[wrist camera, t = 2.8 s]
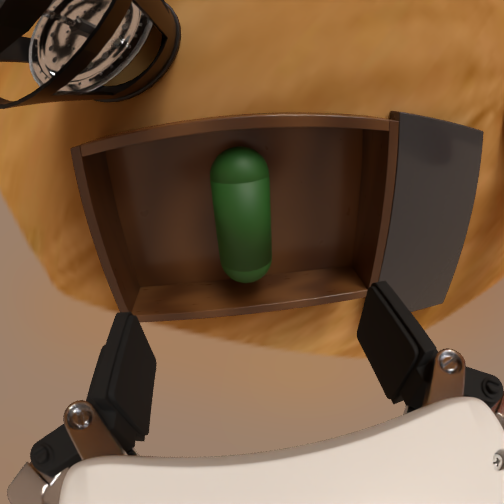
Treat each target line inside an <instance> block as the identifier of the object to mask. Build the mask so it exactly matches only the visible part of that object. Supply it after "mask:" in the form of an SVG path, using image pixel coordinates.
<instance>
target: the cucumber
mask: <svg viewBox="0 0 504 504" xmlns="http://www.w3.org/2000/svg"><path fill="white" fill-rule="evenodd" d="M210 183H211V192H212V201H213V209H214V217H215V225H216V233H217V241H218V248H219V255H220V262H221V266H222V268H223V270H224V272H225V273H226V274H227V275H228V276H229V277H230V278H231V279H233V280H235V281H237V282H241V283H251V282H255V281H257V280H259V279H261V278H262V277H263V276H264V275H265V274H266V273H267V271H268V270H269V268H270V266H271V262H272V235H271V204H270V178H269V169H268V166H267V163H266V161H265V160H264V158H263V157H262V156H261V155H260V154H259V153H258V152H256V151H255V150H253V149H250V148H248V147H242V146H238V147H232V148H229V149H226V150H225V151H223V152H222V153H220V154H219V155H218V156H217V157H216V159H215V160H214V162H213V164H212V166H211V170H210Z"/></svg>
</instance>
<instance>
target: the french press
mask: <svg viewBox="0 0 504 504" xmlns="http://www.w3.org/2000/svg"><path fill="white" fill-rule="evenodd" d="M40 16H41V17H40ZM39 18H40V19H39ZM38 19H39V21H38V23H37V25H36V27H35V29H34V32H33V35H32V37H31V38H27V37H21V36H22V35H24V34H25V33H26V32H28V31H29V30H30V28H31V27H32V26H33V25H34V23H35V22H36V21H37V20H38ZM153 25H154V26H155V27H156V28H157V29H158V30H159V31H160V32H161V33H162V42H161V46H160V49H159V52H158V54H157V56H156V57H155V59H154V61H153V62H152V63H151V64H150V65H149V67H148V68H147V69H146V70H145V71H144V72H142V73H141V74H140V75H139V76H137V77H136V78H134V79H133V80H131V81H128V82H126V83H124V84H120V85H117V86H102V85H103V84H105V83H107V82H108V81H109V80H111V79H112V78H113V77H115V76H116V75H117V74H119V73H120V72H121V71H122V70H123V69H124V68H125V67H126V66H127V65H128V64H129V63H130V62H131V61H132V60H133V58H134V57H135V56H136V55H137V53H138V52H139V51H140V49H141V48H142V46H143V45H144V43H145V42H146V40H147V38H148V36H149V34H150V32H151V29H152V26H153ZM180 40H181V27H180V23H179V20H178V17H177V15H176V14H175V12H174V11H173V9H172V8H171V7H170V6H169V5H168V4H167V3H166V2H165V1H164V0H0V62H24V63H29V65H30V70H31V73H32V75H33V77H34V80H35V81H36V82H37V83H38V85H39V86H40V87H39V88H38V89H36V90H35V91H34V92H32V93H31V94H29V95H27V96H25V97H23V98H21V99H19V100H18V101H8V100H5V99H3V98H1V97H0V109H5V108H11V107H17V106H24V105H31V104H39V103H48V102H59V101H74V100H95V101H100V102H119V101H123V100H127V99H130V98H132V97H135V96H137V95H139V94H141V93H143V92H144V91H146V90H147V89H149V88H150V87H152V86H153V85H154V84H155V83H156V82H157V81H159V80H160V79H161V78H162V76H163V75H164V74H165V73H166V72H167V71H168V69H169V68H170V66H171V64H172V63H173V61H174V59H175V57H176V55H177V52H178V49H179V46H180Z"/></svg>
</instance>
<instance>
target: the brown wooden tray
mask: <svg viewBox="0 0 504 504" xmlns="http://www.w3.org/2000/svg"><path fill="white" fill-rule="evenodd" d="M398 124H399V122H398V121H395V120H390V119H384V118H378V117H372V116H363V115H351V114H335V113H258V114H242V115H229V116H218V117H209V118H201V119H193V120H186V121H179V122H173V123H167V124H161V125H155V126H150V127H145V128H140V129H135V130H131V131H126V132H122V133H118V134H114V135H110V136H106V137H102V138H98V139H95V140H92V141H89V142H86V143H84V144H81V145H78V146H76V147H73V148H71V155H72V160H73V165H74V170H75V175H76V179H77V184H78V188H79V192H80V196H81V200H82V204H83V208H84V211H85V215H86V218H87V222H88V225H89V229H90V232H91V235H92V238H93V241H94V244H95V247H96V250H97V253H98V256H99V259H100V262H101V265H102V268H103V270H104V273H105V276H106V278H107V281H108V283H109V286H110V288H111V291H112V293H113V296H114V298H115V301H116V303H117V305H118V308H119V310H120V312H131V313H132V314H133V315H136V316H137V318H138V320H139V322H153V321H171V320H186V319H200V318H212V317H223V316H233V315H243V314H252V313H261V312H270V311H278V310H286V309H293V308H300V307H308V306H314V305H321V304H328V303H334V302H340V301H346V300H352V299H358V298H363V297H366V294H367V290H368V288H369V287H371V284H372V283H375V282H378V278H379V273H380V269H381V264H382V259H383V255H384V249H385V244H386V239H387V233H388V227H389V221H390V214H391V207H392V200H393V192H394V183H395V173H396V161H397V147H398ZM238 146H242V147H248V148H250V149H253V150H255V151H256V152H258V153H259V154H260V155H261V156H262V157H263V158H264V160H265V161H266V163H267V166H268V169H269V178H270V204H271V235H272V262H271V266H270V268H269V270H268V271H267V273H266V274H265V275H264V276H263V277H262V278H261V279H259V280H257V281H255V282H251V283H241V282H237V281H235V280H233V279H231V278H230V277H229V276H228V275H227V274H226V273H225V272H224V270H223V268H222V266H221V262H220V255H219V248H218V241H217V233H216V225H215V217H214V209H213V201H212V192H211V183H210V170H211V166H212V164H213V162H214V160H215V159H216V157H217V156H218V155H219V154H220V153H222V152H223V151H225V150H226V149H229V148H232V147H238Z"/></svg>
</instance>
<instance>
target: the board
mask: <svg viewBox="0 0 504 504" xmlns="http://www.w3.org/2000/svg"><path fill="white" fill-rule="evenodd" d="M390 120H395V121H398V122H399V124H398V147H397V161H396V173H395V183H394V192H393V200H392V207H391V214H390V221H389V227H388V233H387V239H386V244H385V249H384V255H383V259H382V264H381V269H380V273H379V278H378V282H380V281H386V282H387V283H388V284H389V285H390V286H391V288H392V289H393V290H394V291H395V293H396V294H397V295H398V297H399V298H400V299H401V300H402V302H403V303H404V304H405V306H406V307H407V308H408V309H409V311H410V312H413V311H416V310H420V309H424V308H428V307H431V306H435V305H438V304H442V303H443V302H444V299H445V297H446V294H447V292H448V289H449V286H450V284H451V281H452V278H453V275H454V273H455V270H456V267H457V264H458V261H459V257H460V254H461V251H462V248H463V244H464V241H465V237H466V234H467V230H468V226H469V222H470V218H471V213H472V209H473V204H474V199H475V194H476V189H477V183H478V177H479V170H480V163H481V154H482V144H483V131H481V130H477V129H474V128H471V127H467V126H463V125H460V124H456V123H452V122H448V121H444V120H439V119H435V118H430V117H425V116H420V115H415V114H409V113H403V112H397V111H391V112H390Z"/></svg>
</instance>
